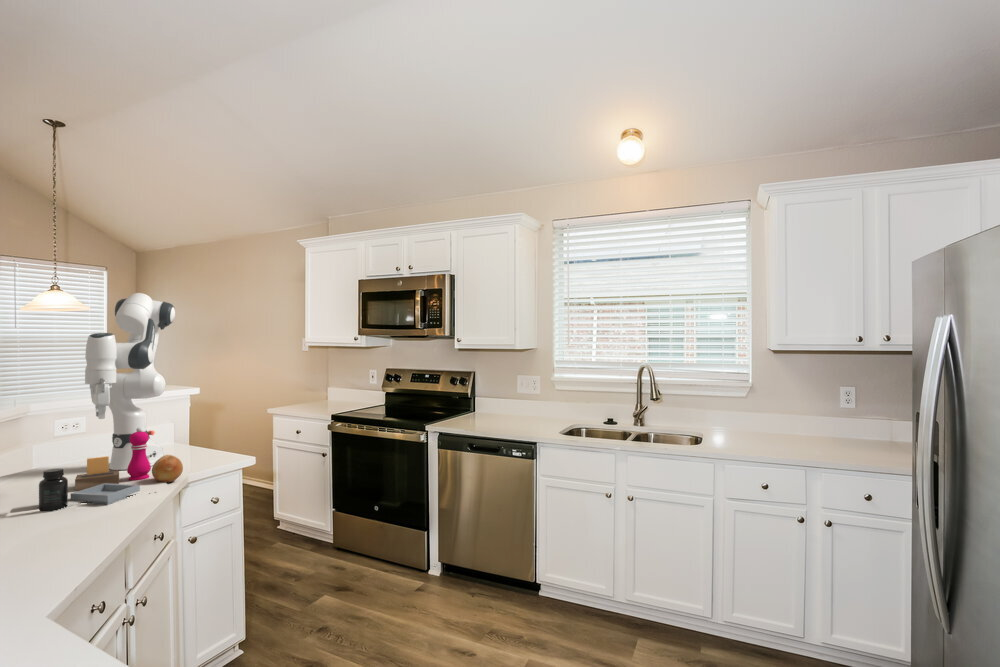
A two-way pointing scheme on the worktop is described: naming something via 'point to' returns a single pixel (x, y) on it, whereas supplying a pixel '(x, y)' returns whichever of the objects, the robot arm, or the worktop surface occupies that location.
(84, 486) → the dispenser
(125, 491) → the tray
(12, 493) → the worktop surface
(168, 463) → the onion
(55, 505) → the supplement bottle
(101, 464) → the orange tan rectangular panel
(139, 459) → the pepper mill
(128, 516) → the worktop surface
